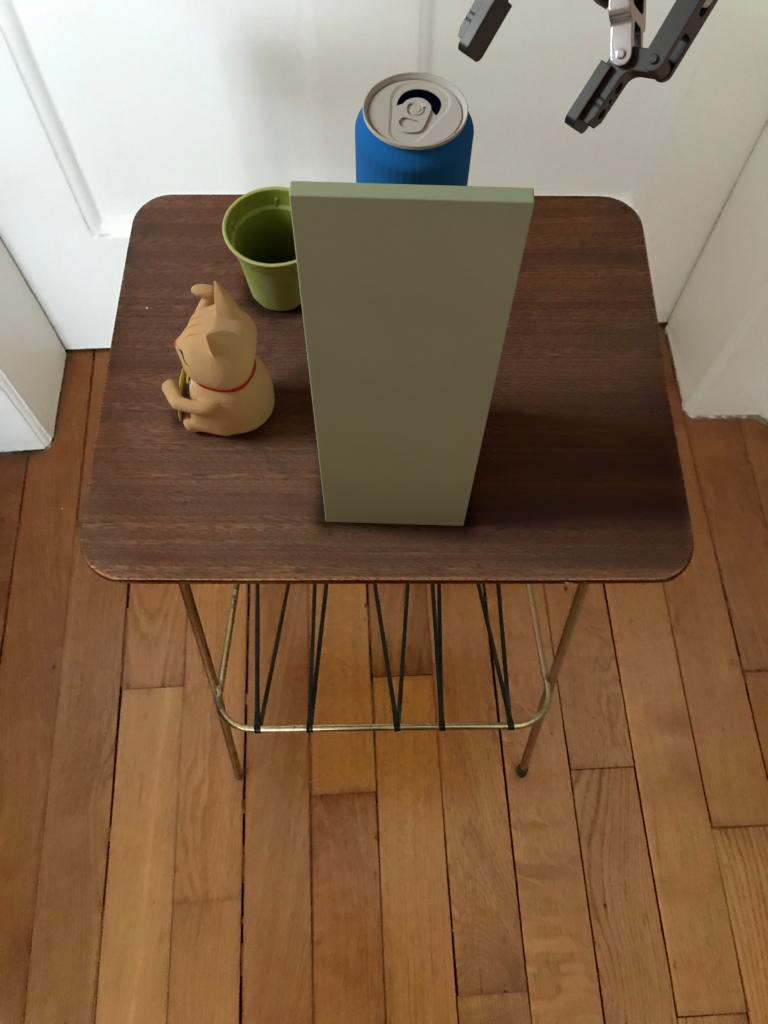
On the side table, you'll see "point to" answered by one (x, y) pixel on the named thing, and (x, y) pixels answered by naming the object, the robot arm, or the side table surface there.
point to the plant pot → (265, 246)
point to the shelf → (404, 337)
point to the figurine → (220, 369)
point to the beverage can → (414, 132)
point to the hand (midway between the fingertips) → (519, 91)
